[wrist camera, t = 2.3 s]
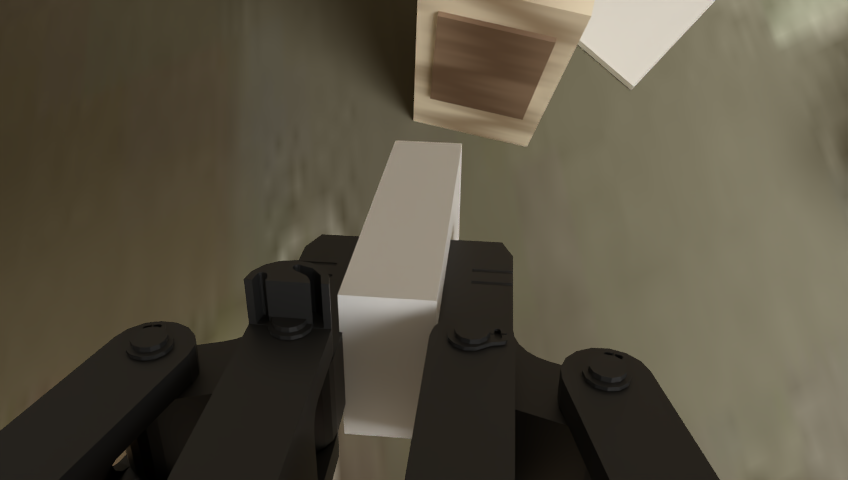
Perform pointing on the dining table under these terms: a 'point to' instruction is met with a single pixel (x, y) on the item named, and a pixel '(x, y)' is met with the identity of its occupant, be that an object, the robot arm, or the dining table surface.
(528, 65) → the birch block
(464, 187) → the dining table surface
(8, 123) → the dining table surface
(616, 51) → the mat
